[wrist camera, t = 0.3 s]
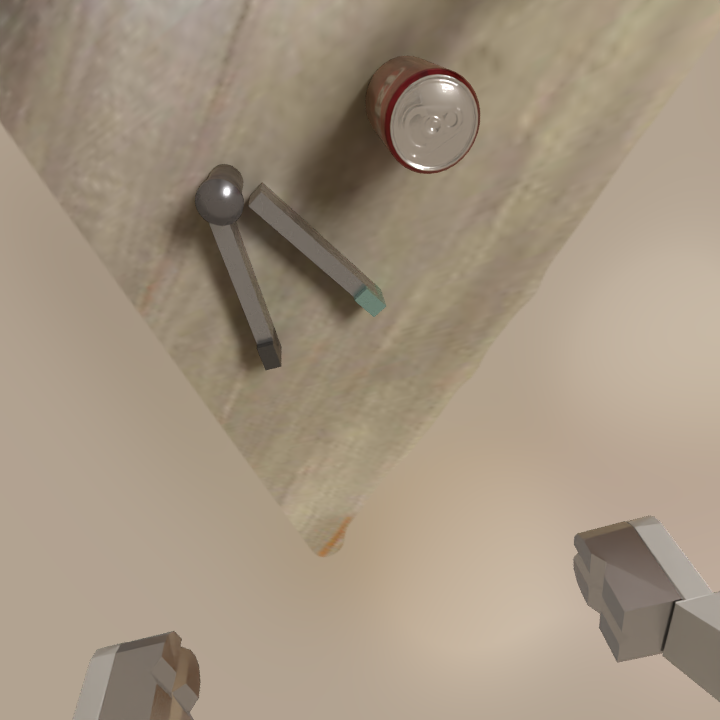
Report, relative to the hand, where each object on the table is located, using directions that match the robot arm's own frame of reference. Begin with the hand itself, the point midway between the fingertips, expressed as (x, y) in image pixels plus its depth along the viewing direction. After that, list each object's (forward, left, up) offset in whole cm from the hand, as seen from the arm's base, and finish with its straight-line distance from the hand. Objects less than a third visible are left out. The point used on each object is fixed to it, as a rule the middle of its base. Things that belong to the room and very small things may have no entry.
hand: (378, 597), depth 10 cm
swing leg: (+11, -1, -46) cm, 48 cm away
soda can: (-1, +10, -47) cm, 48 cm away
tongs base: (+11, -8, -46) cm, 48 cm away
